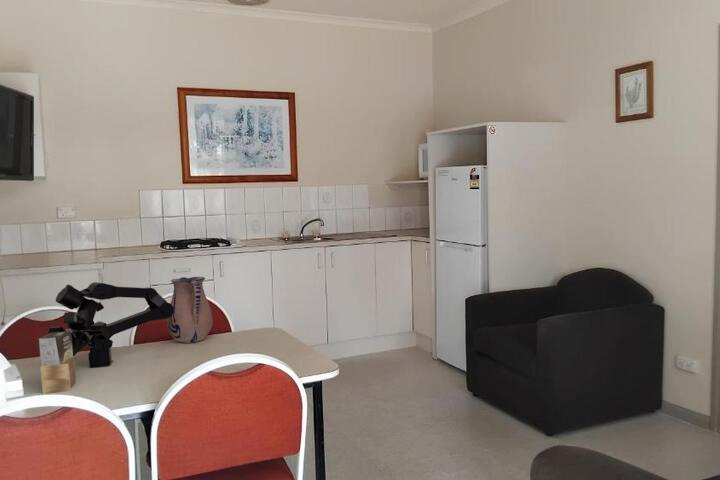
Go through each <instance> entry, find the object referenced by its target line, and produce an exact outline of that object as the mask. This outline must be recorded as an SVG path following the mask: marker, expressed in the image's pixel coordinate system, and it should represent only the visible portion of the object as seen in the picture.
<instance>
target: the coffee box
mask: <svg viewBox="0 0 720 480" xmlns="http://www.w3.org/2000/svg"><path fill="white" fill-rule="evenodd" d="M38 344H39V345H38V346H39V347H38V348H39V357H40V358H39V359H40V367H41V366H50V365H60V364H65V363H66V362H67V361H68V360H69V359H70V358H73V357H74V356H73V350H72V337H71V331H66V330H65V331H64V332H53V333H50V334H47V333H46V334H45V335H43V336H41V337H39V338H38Z"/></svg>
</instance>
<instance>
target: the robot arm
mask: <svg viewBox="0 0 720 480" xmlns="http://www.w3.org/2000/svg"><path fill="white" fill-rule="evenodd" d="M55 297H56V298H55V302H56V303H57V304H59V305H61V306H62V307H65V308H67V309H69V310H71V311H69V312H64V313H63V319H62V323H63V324H64V323H65V324H67V327H68V328H67V329H64V327H63V326H50V327H49V328H48V329H47V333H46V335H47V334H50V333H53V332H64V331H71V337H72V350H73V357H74V356H76V354H78V353H79V351H81V350H82V349H84V347H86V346H87V347H88V348H89V352H88V354H87V355H88V364H89V368H91V369H92V368H100V367H102V368H103V367H110V366H111V365H112V363H113V362H114V360H113V359H112V347H113V343H114V341H113V340H111V338H112V337H113V336H115V335H118V334H119V333H122V332H125V331H128V330H130V329H133V328H135V327H138V326H140V325H143V324H146V323H148V322H153V321H161V320H167V318H170V317H171V316H172V314H173V311H174V309H173V306H172V305H171V302H168V301H167V300H166V299H165V298H164V297H163V296H161V294H160V293H158V291H157V290H156V289H155V288H153V287H148V286H147V287H134V286H133V287H132V286H117V285H112V284H109V283H104V282H103V283H102V282H95V281H94V282H92V283H90V284H89V285H88V286H87V287H86V288H84V289H81V290H79V289H77V288H75V287H74V285H71V284H66V285H65V287H64V288H62V289H61V290H60V291H59V292H58V293H57V295H56V296H55ZM115 298H133V299H135V298H136V299H137V298H139V299H144V300H145V302H146V303H147V308H145V309H144V310H142V311H139V312H136V313H134V314H132V315H129V316H125V317H124V318H120V319H117V320H115V321H113V322H110V323H106V322H104V321H103V322H102V321H97V322H95V321H94V319H95V316H96V313H97V312H100V311H102V310H104V308H105V307H104V305H103V304H102V302H101V301H103V300H111V299H115ZM96 300H99V302H98V301H96ZM74 309H77V311H72V310H74Z"/></svg>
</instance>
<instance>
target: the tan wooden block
mask: <svg viewBox="0 0 720 480" xmlns="http://www.w3.org/2000/svg"><path fill="white" fill-rule="evenodd" d="M75 363H76V362H75V357H74V356H73V358H70V359H69V360H68V361H67V362H66V363H65V364H60V365H50V366H41V365H40V367H39V368H40V378H41V389H42V390H41V392H42V394H50V393H51V394H52V393H61V392H69V391H70V392H71V390H72V388H73V387H74V386H75V385H76V384H77V376H76V364H75Z"/></svg>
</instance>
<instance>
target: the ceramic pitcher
mask: <svg viewBox="0 0 720 480" xmlns="http://www.w3.org/2000/svg"><path fill="white" fill-rule="evenodd" d="M205 280H206V278H205V277H204V276H192V277H185V276H182V277H179V278H173V279H171V280H170V282H171V283H172V285H173V294H172V297H171V301H170V304H171V305H172V306H173V309H174V311H173V314H172V316H171V317H170V318H167V319H166V328H167V330H168V333H169V334H170V336H171V337H172V338H173V339H174V340H175V341H177V342H178V343H180V342H181V343H187V344H188V343H189V344H191V343H197V342H200V341H203V340H204V339H206V337H207V336H208V334H209V333H210V331H211V330H212V327H213V323H214V317H213V314H212V309H211V306H210V304H209V300H208V298H207V295H206V293H205V290H204V286H203V282H204V281H205Z"/></svg>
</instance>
